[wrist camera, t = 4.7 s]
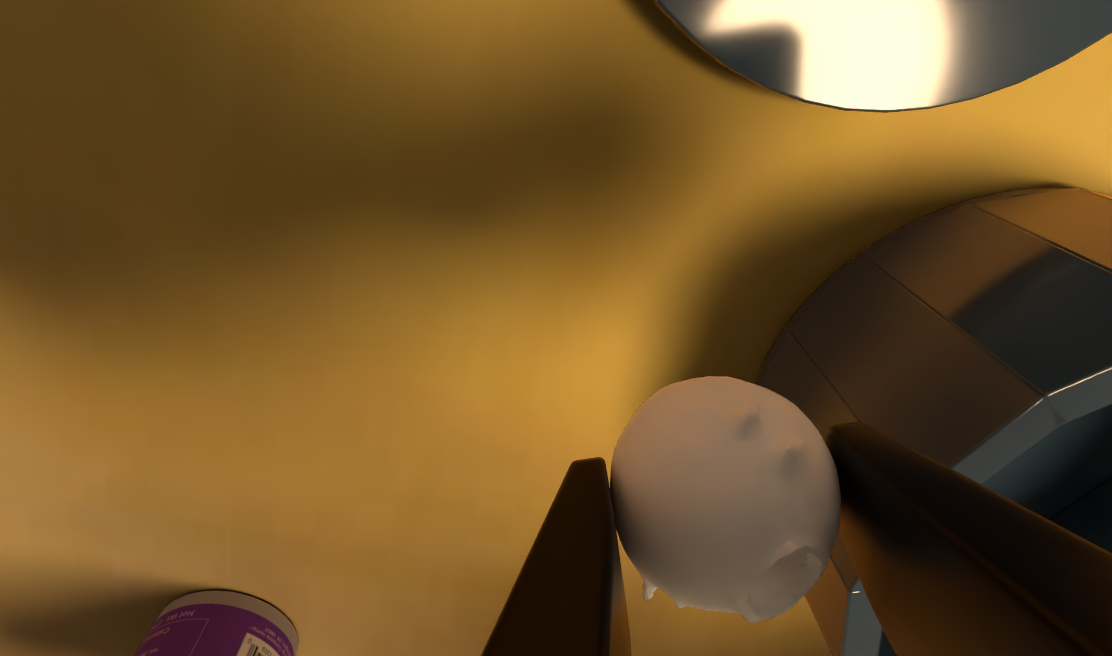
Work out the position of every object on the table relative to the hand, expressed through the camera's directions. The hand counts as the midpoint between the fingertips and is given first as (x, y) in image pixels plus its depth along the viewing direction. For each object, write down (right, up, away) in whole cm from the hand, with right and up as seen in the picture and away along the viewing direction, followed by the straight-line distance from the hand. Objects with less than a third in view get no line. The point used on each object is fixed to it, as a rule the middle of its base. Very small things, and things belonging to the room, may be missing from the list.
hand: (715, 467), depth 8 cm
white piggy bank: (0, 0, +1) cm, 1 cm away
